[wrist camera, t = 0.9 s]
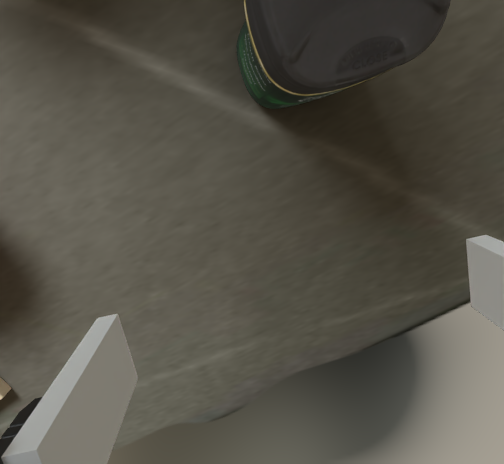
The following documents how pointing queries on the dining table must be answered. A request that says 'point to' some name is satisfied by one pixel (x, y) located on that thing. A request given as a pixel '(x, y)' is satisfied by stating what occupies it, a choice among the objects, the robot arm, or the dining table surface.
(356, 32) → the coffee jar
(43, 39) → the dining table surface
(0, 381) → the rack
